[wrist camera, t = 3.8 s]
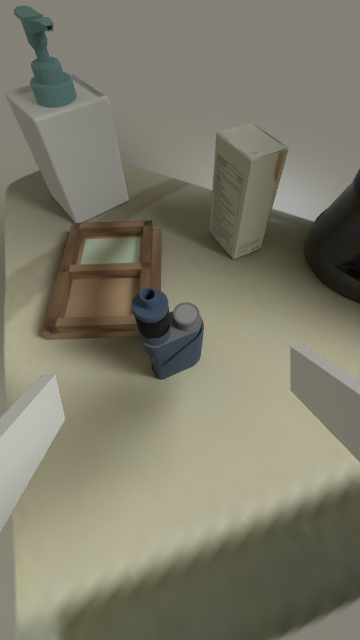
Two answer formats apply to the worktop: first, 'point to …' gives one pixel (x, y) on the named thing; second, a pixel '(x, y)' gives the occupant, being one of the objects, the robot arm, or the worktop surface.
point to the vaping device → (168, 332)
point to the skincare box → (244, 187)
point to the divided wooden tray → (103, 279)
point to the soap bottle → (68, 130)
